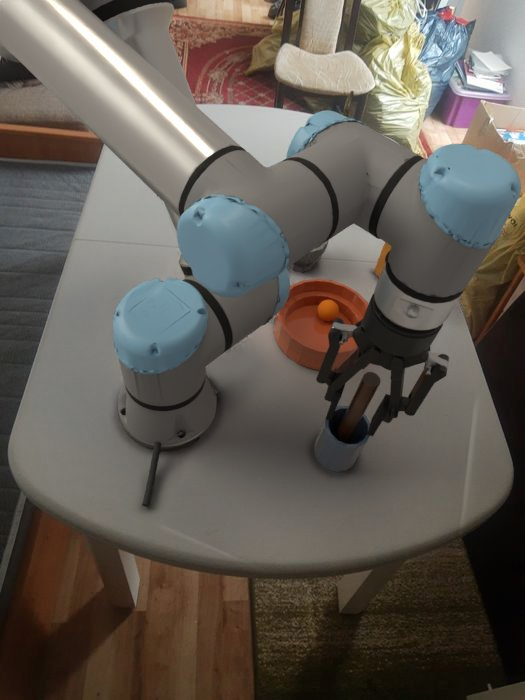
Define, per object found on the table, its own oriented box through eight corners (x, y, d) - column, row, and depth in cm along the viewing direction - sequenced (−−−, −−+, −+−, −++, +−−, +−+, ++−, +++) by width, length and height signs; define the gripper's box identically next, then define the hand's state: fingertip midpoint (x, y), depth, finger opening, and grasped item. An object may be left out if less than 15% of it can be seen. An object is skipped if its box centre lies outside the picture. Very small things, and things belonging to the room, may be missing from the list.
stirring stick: (338, 464, 73) (377, 394, 57) (325, 459, 73) (359, 387, 57) (345, 443, 75) (383, 370, 59) (331, 438, 75) (366, 364, 60)
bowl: (352, 386, 83) (361, 366, 78) (259, 352, 85) (263, 331, 80) (373, 318, 93) (382, 297, 88) (290, 290, 95) (295, 267, 91)
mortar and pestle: (325, 277, 99) (338, 231, 89) (280, 278, 97) (288, 230, 88) (314, 241, 105) (326, 194, 96) (272, 241, 104) (280, 193, 94)
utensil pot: (349, 480, 72) (365, 454, 65) (307, 463, 73) (318, 436, 66) (359, 443, 76) (376, 415, 69) (319, 428, 77) (331, 399, 70)
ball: (333, 328, 89) (338, 314, 86) (312, 321, 90) (316, 306, 87) (338, 313, 92) (343, 299, 89) (318, 307, 92) (323, 292, 89)
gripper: (311, 300, 47) (280, 417, 65) (498, 365, 44) (411, 468, 63) (331, 254, 51) (297, 376, 70) (502, 310, 49) (420, 421, 67)
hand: (351, 419), depth 66 cm, fingers open, 5 cm apart
